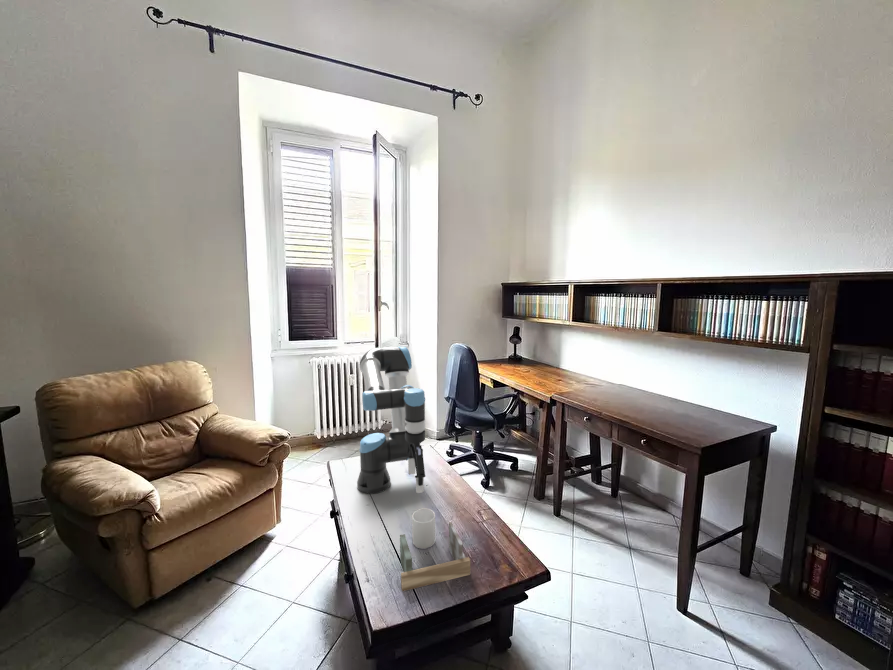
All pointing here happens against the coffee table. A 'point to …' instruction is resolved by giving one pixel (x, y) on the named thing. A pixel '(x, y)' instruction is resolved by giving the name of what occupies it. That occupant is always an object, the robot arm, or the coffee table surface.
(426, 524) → the mug
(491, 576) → the coffee table surface
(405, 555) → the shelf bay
